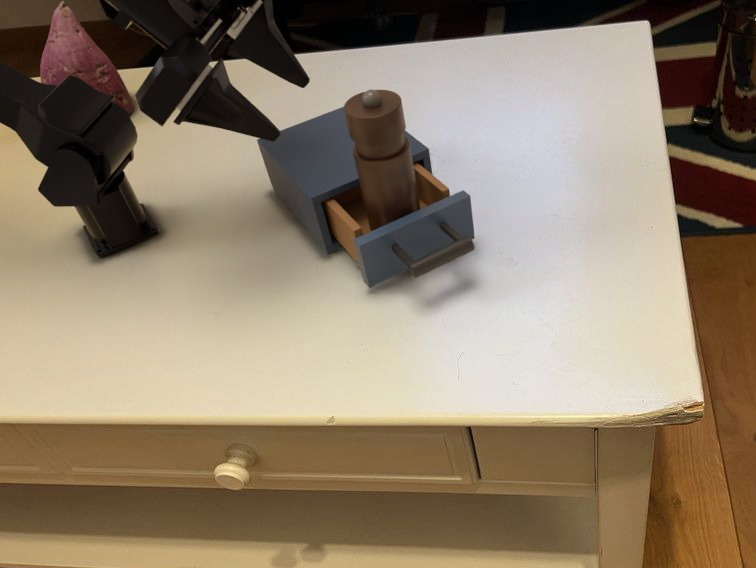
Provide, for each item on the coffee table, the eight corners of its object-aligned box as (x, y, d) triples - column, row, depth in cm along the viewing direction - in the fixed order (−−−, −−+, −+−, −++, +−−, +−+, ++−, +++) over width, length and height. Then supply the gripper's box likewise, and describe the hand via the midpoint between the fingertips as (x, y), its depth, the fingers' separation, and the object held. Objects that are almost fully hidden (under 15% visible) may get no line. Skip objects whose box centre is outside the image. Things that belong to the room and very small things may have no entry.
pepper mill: (394, 254, 67) (365, 112, 57) (360, 233, 69) (327, 94, 59) (434, 228, 69) (413, 87, 59) (400, 209, 72) (374, 70, 62)
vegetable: (113, 113, 103) (80, -4, 96) (153, 120, 98) (122, -4, 90) (38, 129, 96) (-3, 4, 89) (78, 138, 91) (37, 5, 83)
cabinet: (437, 205, 75) (429, 148, 70) (327, 254, 71) (311, 198, 66) (375, 152, 83) (364, 98, 79) (274, 193, 79) (256, 139, 74)
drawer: (502, 261, 66) (498, 218, 63) (393, 315, 63) (384, 272, 59) (409, 181, 77) (402, 141, 73) (312, 223, 73) (300, 183, 70)
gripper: (118, -64, 46) (317, 106, 53) (221, -144, 59) (371, 1, 66) (55, 54, 53) (240, 190, 60) (160, -41, 65) (302, 81, 72)
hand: (293, 109), depth 64 cm, fingers open, 9 cm apart
